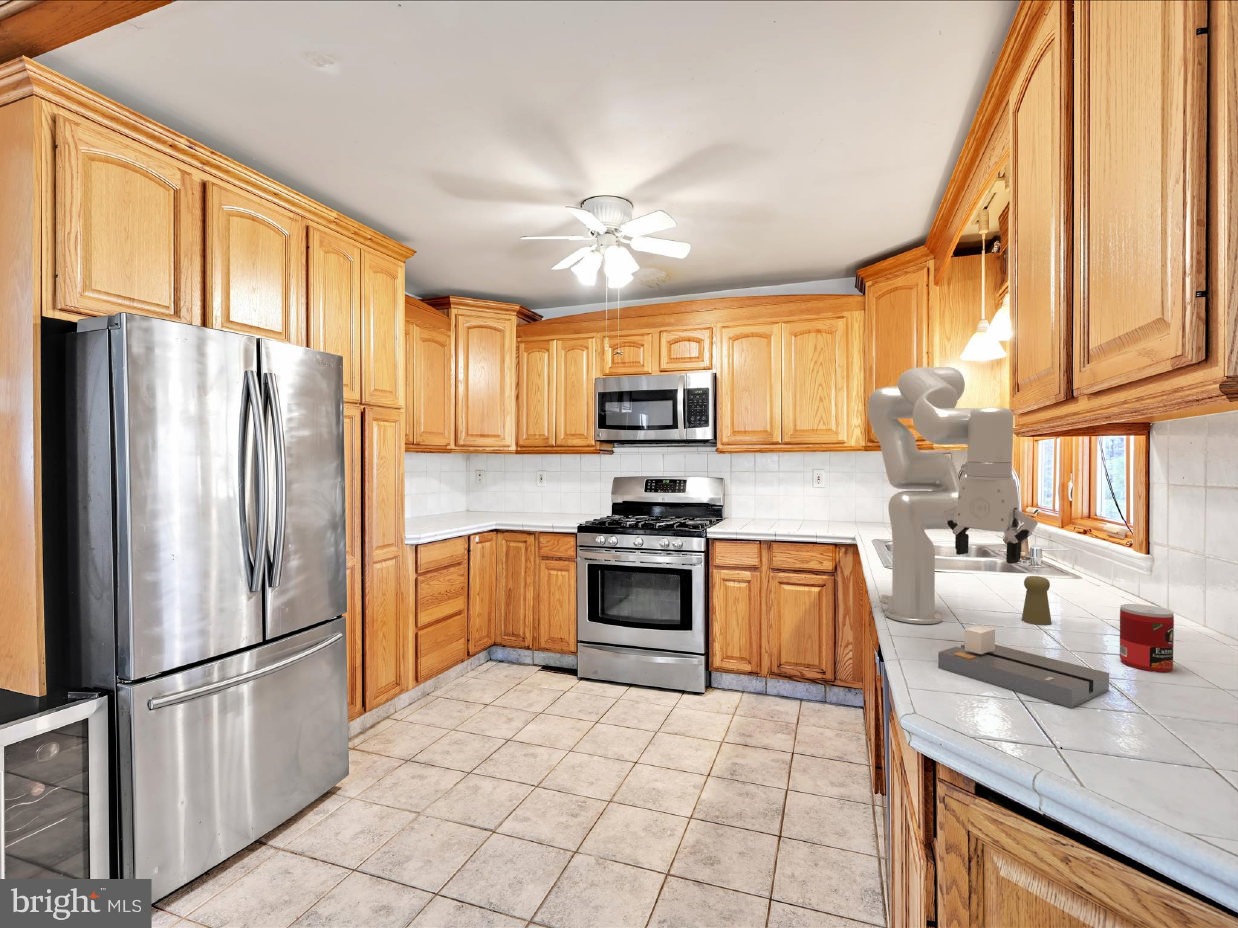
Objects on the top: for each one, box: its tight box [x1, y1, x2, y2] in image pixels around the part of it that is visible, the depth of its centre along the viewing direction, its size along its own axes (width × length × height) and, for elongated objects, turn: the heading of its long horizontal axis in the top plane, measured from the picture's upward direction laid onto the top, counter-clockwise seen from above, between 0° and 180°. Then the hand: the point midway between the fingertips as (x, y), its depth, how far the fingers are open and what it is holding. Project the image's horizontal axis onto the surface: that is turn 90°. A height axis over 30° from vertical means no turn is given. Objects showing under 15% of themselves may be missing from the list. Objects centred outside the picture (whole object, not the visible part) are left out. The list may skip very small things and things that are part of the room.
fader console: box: [937, 643, 1110, 709], centre depth 111 cm, size 22×14×3 cm, turn 32°
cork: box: [1021, 575, 1052, 626], centre depth 148 cm, size 6×6×11 cm
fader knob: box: [964, 625, 996, 654], centre depth 117 cm, size 3×5×6 cm, turn 122°
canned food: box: [1119, 603, 1175, 673], centre depth 117 cm, size 8×8×11 cm
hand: (986, 558), depth 120 cm, fingers open, 9 cm apart
